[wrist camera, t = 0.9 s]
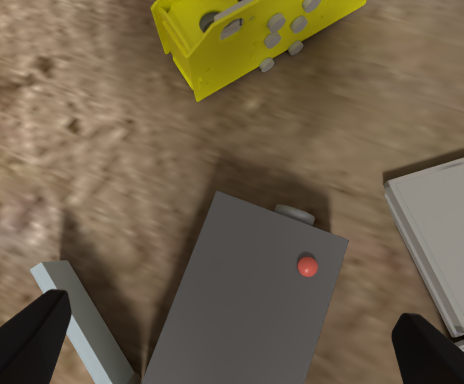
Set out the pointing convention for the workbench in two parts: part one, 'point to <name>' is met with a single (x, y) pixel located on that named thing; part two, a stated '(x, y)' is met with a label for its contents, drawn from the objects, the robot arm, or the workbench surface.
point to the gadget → (435, 233)
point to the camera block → (249, 298)
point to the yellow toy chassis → (238, 34)
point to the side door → (87, 326)
